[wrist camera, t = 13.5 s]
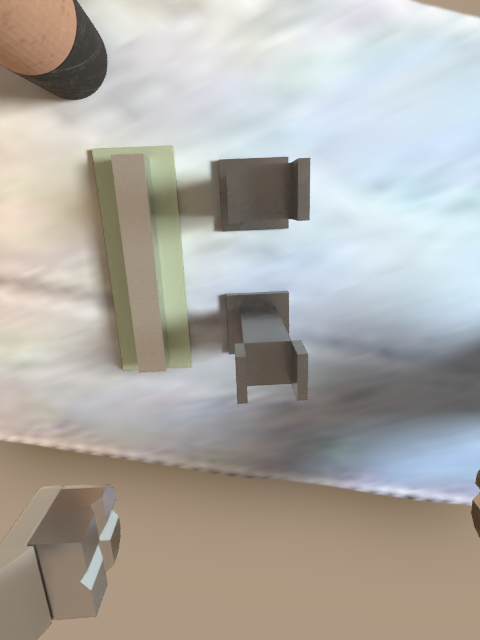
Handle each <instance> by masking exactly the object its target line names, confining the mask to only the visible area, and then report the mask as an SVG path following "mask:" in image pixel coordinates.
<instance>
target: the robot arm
mask: <svg viewBox="0 0 480 640" xmlns="http://www.w3.org/2000/svg"><path fill="white" fill-rule="evenodd" d="M475 484H476V485H477V486H478V488H479V489H480V470H479V471H478V473H477V476H476V482H475ZM115 501H116V496H115V492H114V487H113V486H112V485H110V484H107V485H66V486H44V487H42V488H40V489H39V490H38V491H37V492H36V493H35V495H34V496H33V498H32V499H31V500H30V502H29V503H28V505H27V506H26V508H25V509H24V510H23V512H22V513H21V515H20V516H19V518H18V519H17V520H16V522H15V523H14V525H13V526H12V528H11V529H10V530H9V532H8V533H7V535H6V536H5V538H4V539H3V540H2V542H1V544H0V640H37V639H38V638H39V637H40V636H41V635H42V634H43V633H44V631H45V630H46V629H47V628H48V627H49V626H50V625H51V624H52V620H61V619H74V618H85V617H96V616H97V613H98V610H99V607H100V604H101V601H102V598H103V596H104V593H105V590H106V587H107V579H106V573H105V572H106V571H107V570H108V569H109V568H110V567H111V566H112V565H114V563H115V560H116V556H117V553H118V549H119V542H120V520H119V516H118V515H117V514H116V513H115V512H114V511H113V510H112V509H113V506H114V504H115ZM471 514H472V518H473V523H474V527H475V529H476V531H477V533H478V535H479V537H480V493H479V494H478V495H477V496H476V497H475V498H474V499H473V501H472V511H471Z"/></svg>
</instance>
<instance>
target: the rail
mask: <svg viewBox="0 0 480 640" xmlns="http://www.w3.org/2000/svg"><path fill="white" fill-rule="evenodd" d="M111 161H112V168H113V176H114V184H115V192H116V199H117V207H118V215H119V223H120V230H121V238H122V246H123V254H124V261H125V269H126V277H127V284H128V292H129V300H130V308H131V315H132V323H133V331H134V339H135V346H136V354H137V362H138V370H139V372H156V371H167V368H168V365H169V362H170V353H169V343H168V333H167V323H166V313H165V304H164V294H163V284H162V274H161V264H160V255H159V245H158V235H157V225H156V215H155V205H154V196H153V186H152V176H151V166H150V157H149V156H147V155H145V154H143V153H141V154H116V155H111Z"/></svg>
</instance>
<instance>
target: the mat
mask: <svg viewBox="0 0 480 640" xmlns="http://www.w3.org/2000/svg"><path fill="white" fill-rule="evenodd" d="M141 153H143V154H145V155H147V156H149V157H150V166H151V176H152V186H153V196H154V205H155V215H156V225H157V235H158V245H159V255H160V264H161V274H162V284H163V294H164V304H165V313H166V323H167V333H168V343H169V353H170V362H169V365H168V368H187V367H192V360H191V348H190V336H189V324H188V313H187V301H186V289H185V277H184V266H183V254H182V242H181V231H180V219H179V207H178V195H177V184H176V172H175V160H174V148H173V146H149V147H125V148H100V149H92V155H93V162H94V169H95V176H96V183H97V190H98V197H99V204H100V211H101V218H102V225H103V232H104V239H105V246H106V253H107V260H108V267H109V274H110V281H111V288H112V295H113V302H114V309H115V316H116V323H117V330H118V337H119V344H120V351H121V358H122V365H123V371H128V370H138V362H137V354H136V346H135V339H134V331H133V323H132V315H131V308H130V300H129V292H128V284H127V277H126V269H125V261H124V254H123V246H122V238H121V230H120V223H119V215H118V207H117V199H116V192H115V184H114V176H113V168H112V161H111V155H116V154H141ZM168 368H167V369H168Z"/></svg>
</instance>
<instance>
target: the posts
mask: <svg viewBox="0 0 480 640" xmlns="http://www.w3.org/2000/svg"><path fill="white" fill-rule="evenodd" d="M219 176H220V195H221V213H222V231H237V230H260V229H282V228H288V219H294V220H297V221H302V220H309V211H310V158H299V159H296V160H295V161H293V162H292V163H288V157H273V158H249V159H224V160H219ZM226 307H227V325H228V344H229V354H235V361H236V382H237V402H238V404H242V403H248V401H247V386H256V385H275V384H292V387H293V390H294V392H295V395H296V398H297V401H299V400H307V383H308V353H307V351H306V349H305V347H304V346H303V344H302V342H301V340H298V341H291V339H290V337H289V292H288V291H279V292H258V293H237V294H226Z"/></svg>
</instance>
